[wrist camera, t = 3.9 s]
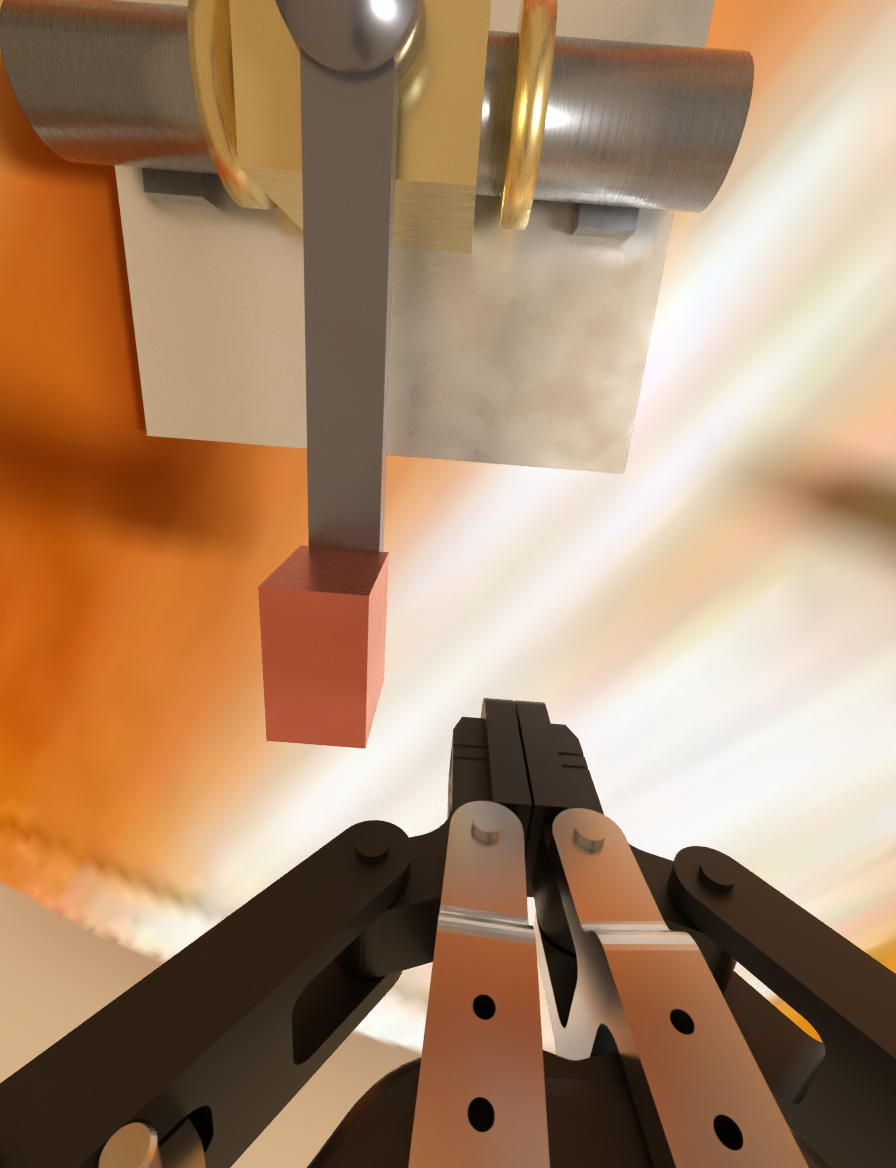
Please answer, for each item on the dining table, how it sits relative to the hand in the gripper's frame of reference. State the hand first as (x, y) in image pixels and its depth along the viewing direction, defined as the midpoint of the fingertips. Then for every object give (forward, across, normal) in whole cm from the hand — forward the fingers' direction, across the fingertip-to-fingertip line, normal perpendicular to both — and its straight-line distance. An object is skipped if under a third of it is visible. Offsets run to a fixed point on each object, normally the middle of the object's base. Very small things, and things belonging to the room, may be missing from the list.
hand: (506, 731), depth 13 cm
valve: (+17, +5, -17) cm, 25 cm away
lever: (+7, +5, -8) cm, 12 cm away
